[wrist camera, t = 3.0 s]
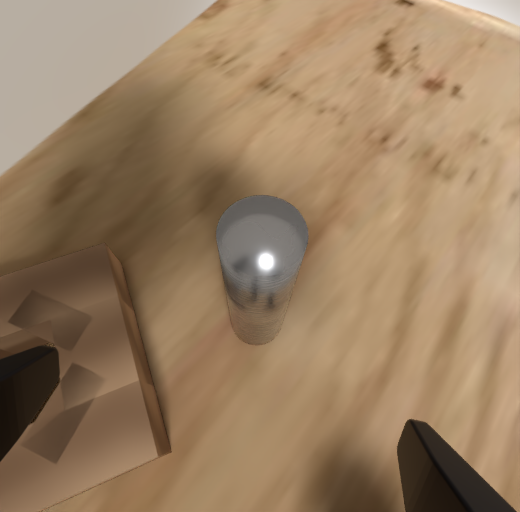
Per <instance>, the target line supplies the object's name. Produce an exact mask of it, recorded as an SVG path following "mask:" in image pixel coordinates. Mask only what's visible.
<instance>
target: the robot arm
mask: <svg viewBox="0 0 520 512" xmlns="http://www.w3.org/2000/svg"><path fill="white" fill-rule="evenodd" d="M59 376H60V366H59V352H58V350H57V349H56V348H55V347H50V346H45V345H39V346H36V347H33V348H31V349H28V350H25V351H22V352H19V353H16V354H13V355H10V356H8V357H5V358H2V359H0V462H1V461H2V459H3V458H4V457H5V456H6V455H7V453H8V452H9V451H10V450H11V448H12V447H13V446H14V445H15V443H16V442H17V441H18V439H19V438H20V437H21V435H22V434H23V433H24V431H25V430H26V428H27V427H28V425H29V424H30V422H31V421H32V419H33V418H34V417H35V415H36V414H37V412H38V411H39V409H40V408H41V406H42V405H43V403H44V402H45V400H46V399H47V397H48V396H49V394H50V393H51V391H52V390H53V388H54V387H55V385H56V384H57V382H58V380H59ZM397 455H398V462H399V469H400V476H401V483H402V490H403V497H404V504H405V511H406V512H517V511H516V510H515V509H514V508H513V507H511V506H510V505H509V504H508V503H507V502H506V501H505V500H504V499H503V498H502V497H501V496H500V495H499V494H498V493H497V492H496V491H495V490H494V489H493V488H492V487H491V486H490V485H489V484H488V483H487V482H486V481H485V480H484V479H483V478H482V477H481V476H480V475H479V474H478V473H477V472H476V471H475V470H474V469H473V468H472V467H471V466H470V465H469V464H468V463H467V462H466V461H465V460H464V459H463V458H462V457H461V456H460V455H459V454H458V453H457V452H456V451H455V450H454V449H453V448H452V447H451V446H450V445H449V444H448V443H447V442H446V441H445V440H444V439H443V438H442V437H441V436H440V435H439V434H438V433H437V432H436V431H435V430H434V429H433V428H432V427H430V426H429V425H428V424H427V423H426V422H423V421H418V420H413V419H409V420H407V422H406V423H405V426H404V429H403V431H402V434H401V437H400V439H399V442H398V446H397Z"/></svg>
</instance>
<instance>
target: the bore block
mask: <svg viewBox="0 0 520 512" xmlns="http://www.w3.org/2000/svg"><path fill="white" fill-rule="evenodd" d="M50 342H51V343H53V344H54V345H55V348H56V349H57V350H58V352H59V366H60V383H59V384H58V386H57V388H56V389H55V391H54V392H53V394H52V395H51V397H50V399H49V400H48V402H47V403H46V405H45V406H44V408H43V410H42V411H41V413H40V414H39V416H38V417H37V419H36V421H35V422H34V423H32V424H30V425H28V427H27V428H26V430H25V431H24V433H23V434H22V435H21V437H20V438H19V439H18V441H17V442H16V443H15V445H14V446H13V447H12V448H11V450H10V451H9V452H8V453H7V455H6V456H5V457H4V458H3V459H2V461H1V462H0V512H41V511H43V510H45V509H47V508H49V507H52V506H54V505H56V504H58V503H60V502H63V501H65V500H67V499H69V498H71V497H74V496H76V495H78V494H80V493H82V492H85V491H87V490H89V489H91V488H93V487H96V486H98V485H100V484H102V483H104V482H107V481H109V480H111V479H113V478H115V477H118V476H120V475H122V474H124V473H127V472H129V471H131V470H133V469H135V468H138V467H140V466H142V465H144V464H146V463H149V462H151V461H153V460H155V459H157V458H160V457H162V456H164V455H166V454H168V453H171V449H170V445H169V441H168V437H167V434H166V430H165V426H164V422H163V419H162V415H161V411H160V407H159V403H158V400H157V396H156V392H155V388H154V385H153V381H152V377H151V373H150V370H149V366H148V362H147V358H146V354H145V351H144V347H143V343H142V339H141V336H140V332H139V328H138V324H137V321H136V317H135V313H134V309H133V306H132V302H131V298H130V294H129V290H128V287H127V283H126V279H125V275H124V272H123V268H122V264H121V263H120V261H119V260H118V259H117V258H116V256H115V255H114V254H113V253H112V251H111V250H110V249H109V248H108V246H107V245H106V244H105V243H102V244H99V245H96V246H92V247H89V248H86V249H83V250H80V251H77V252H74V253H71V254H68V255H65V256H62V257H58V258H55V259H52V260H49V261H46V262H43V263H40V264H37V265H34V266H31V267H28V268H24V269H21V270H18V271H15V272H12V273H9V274H6V275H3V276H0V359H2V358H5V357H8V356H10V355H13V354H16V353H19V352H22V351H25V350H28V349H31V348H33V347H36V346H39V345H44V344H47V343H50Z"/></svg>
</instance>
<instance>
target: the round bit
mask: <svg viewBox="0 0 520 512" xmlns="http://www.w3.org/2000/svg"><path fill="white" fill-rule="evenodd" d="M216 239H217V245H218V251H219V256H220V262H221V267H222V273H223V278H224V284H225V289H226V295H227V301H228V306H229V312H230V317H231V323H232V327H233V330H234V332H235V334H236V335H237V336H238V338H240V339H241V340H242V341H243V342H245V343H248V344H251V345H263V344H266V343H268V342H270V341H272V340H273V339H274V338H275V337H276V336H277V335H278V333H279V331H280V329H281V326H282V323H283V319H284V316H285V313H286V310H287V307H288V304H289V301H290V297H291V294H292V291H293V288H294V285H295V282H296V279H297V275H298V272H299V269H300V266H301V263H302V260H303V256H304V253H305V250H306V247H307V244H308V228H307V225H306V222H305V220H304V218H303V217H302V215H301V214H300V212H299V211H298V210H297V209H296V208H295V207H294V206H292V205H291V204H290V203H288V202H286V201H284V200H282V199H280V198H277V197H273V196H266V195H256V196H250V197H246V198H243V199H241V200H239V201H237V202H235V203H234V204H232V205H231V206H230V207H229V208H228V209H227V210H226V211H225V212H224V213H223V215H222V216H221V218H220V220H219V222H218V225H217V230H216Z"/></svg>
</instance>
